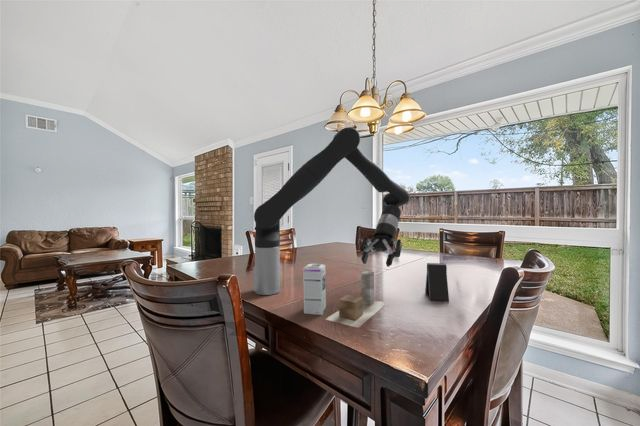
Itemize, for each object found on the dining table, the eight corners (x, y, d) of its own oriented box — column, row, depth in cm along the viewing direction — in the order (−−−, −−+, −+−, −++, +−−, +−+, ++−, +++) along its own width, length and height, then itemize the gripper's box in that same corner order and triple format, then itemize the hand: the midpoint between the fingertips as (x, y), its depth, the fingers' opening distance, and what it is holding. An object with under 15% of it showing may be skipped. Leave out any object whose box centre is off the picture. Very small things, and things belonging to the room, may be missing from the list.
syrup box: (322, 318, 78) (322, 267, 77) (303, 316, 79) (302, 266, 79) (326, 310, 83) (326, 263, 83) (307, 309, 84) (307, 263, 84)
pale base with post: (325, 322, 74) (325, 283, 74) (358, 299, 93) (358, 268, 93) (358, 331, 69) (358, 288, 69) (386, 305, 87) (386, 272, 87)
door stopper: (449, 301, 91) (449, 266, 91) (430, 300, 92) (430, 265, 92) (442, 293, 100) (442, 261, 100) (425, 292, 101) (425, 260, 101)
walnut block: (339, 317, 76) (339, 299, 76) (347, 311, 80) (347, 294, 80) (355, 320, 73) (355, 302, 73) (362, 314, 77) (362, 297, 77)
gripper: (366, 221, 104) (353, 255, 94) (403, 222, 96) (393, 259, 86) (371, 234, 108) (359, 267, 99) (407, 236, 100) (398, 272, 91)
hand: (375, 263), depth 93 cm, fingers open, 8 cm apart
